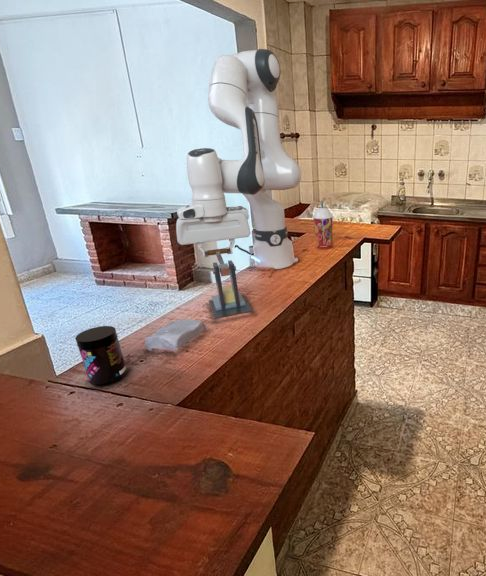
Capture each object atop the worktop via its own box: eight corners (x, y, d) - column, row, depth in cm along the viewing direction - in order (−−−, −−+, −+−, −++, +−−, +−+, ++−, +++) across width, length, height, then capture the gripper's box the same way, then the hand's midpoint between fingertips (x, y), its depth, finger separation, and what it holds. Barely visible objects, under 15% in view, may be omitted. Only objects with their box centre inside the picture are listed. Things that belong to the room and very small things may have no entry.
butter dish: (211, 298, 118) (209, 286, 117) (239, 293, 121) (237, 282, 120) (216, 310, 110) (214, 298, 108) (245, 305, 113) (243, 292, 112)
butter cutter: (209, 304, 117) (201, 259, 112) (243, 298, 121) (237, 254, 117) (215, 322, 106) (206, 273, 101) (253, 315, 110) (247, 267, 105)
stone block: (144, 358, 92) (179, 354, 90) (136, 339, 91) (172, 335, 88) (177, 336, 103) (210, 332, 101) (171, 319, 102) (204, 314, 99)
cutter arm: (207, 255, 118) (206, 248, 117) (226, 253, 121) (226, 245, 119) (215, 277, 108) (214, 269, 106) (236, 274, 110) (235, 266, 109)
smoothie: (335, 248, 172) (333, 202, 165) (316, 250, 171) (312, 203, 163) (332, 244, 180) (330, 199, 173) (314, 245, 178) (311, 200, 171)
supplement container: (97, 371, 84) (84, 327, 81) (132, 367, 86) (120, 324, 82) (83, 390, 78) (68, 343, 74) (121, 385, 79) (107, 339, 76)
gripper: (245, 204, 121) (250, 248, 125) (171, 210, 112) (180, 257, 117) (249, 206, 115) (255, 252, 120) (172, 213, 107) (181, 262, 112)
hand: (217, 255), depth 119 cm, fingers closed on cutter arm, 5 cm apart
